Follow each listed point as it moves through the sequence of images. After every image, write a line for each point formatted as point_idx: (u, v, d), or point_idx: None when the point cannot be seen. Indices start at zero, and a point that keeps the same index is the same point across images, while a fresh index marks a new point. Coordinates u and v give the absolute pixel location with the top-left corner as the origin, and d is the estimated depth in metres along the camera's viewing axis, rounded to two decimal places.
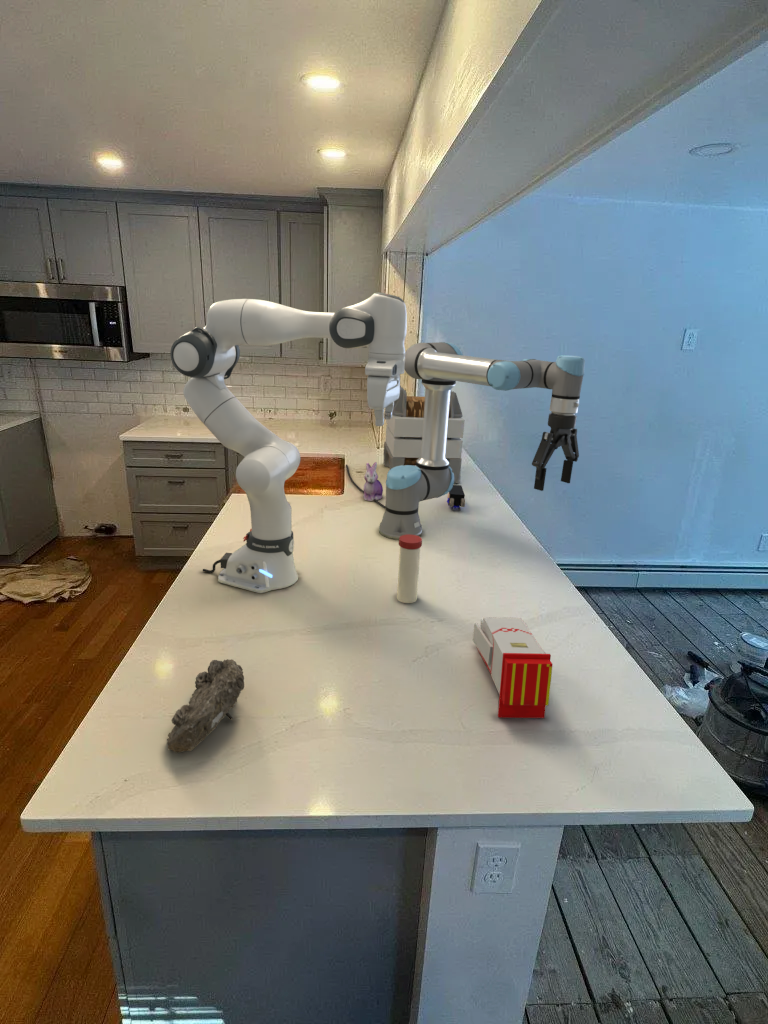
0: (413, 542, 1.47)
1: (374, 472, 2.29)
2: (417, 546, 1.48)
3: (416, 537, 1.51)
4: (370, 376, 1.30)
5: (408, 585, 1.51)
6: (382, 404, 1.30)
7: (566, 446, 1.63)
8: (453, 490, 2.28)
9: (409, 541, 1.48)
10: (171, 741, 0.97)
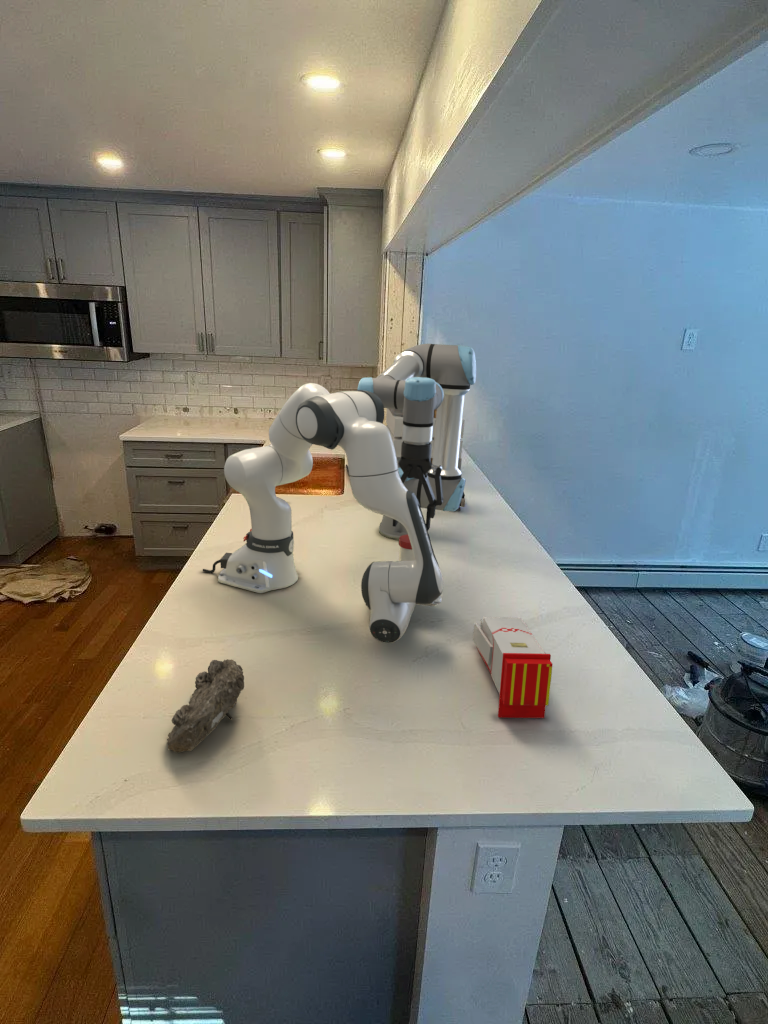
0: None
1: None
2: None
3: None
4: None
5: None
6: None
7: (406, 479, 1.45)
8: None
9: (409, 541, 1.48)
10: (171, 741, 0.97)
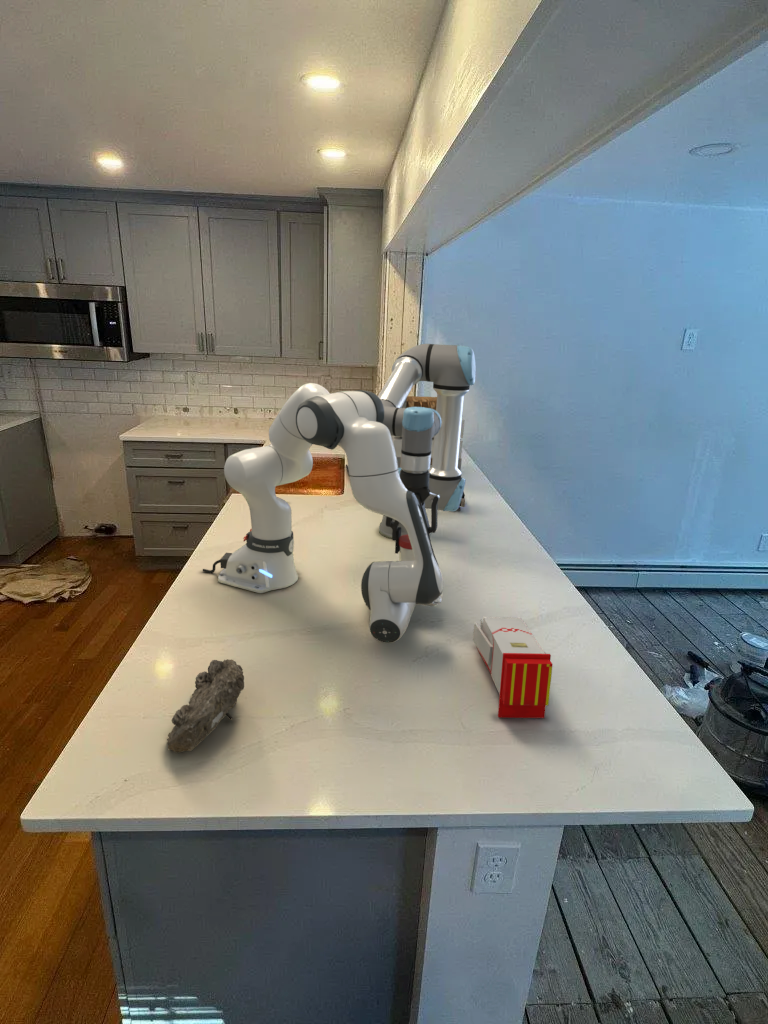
0: None
1: None
2: None
3: None
4: None
5: None
6: None
7: None
8: None
9: (409, 541, 1.48)
10: (171, 741, 0.97)
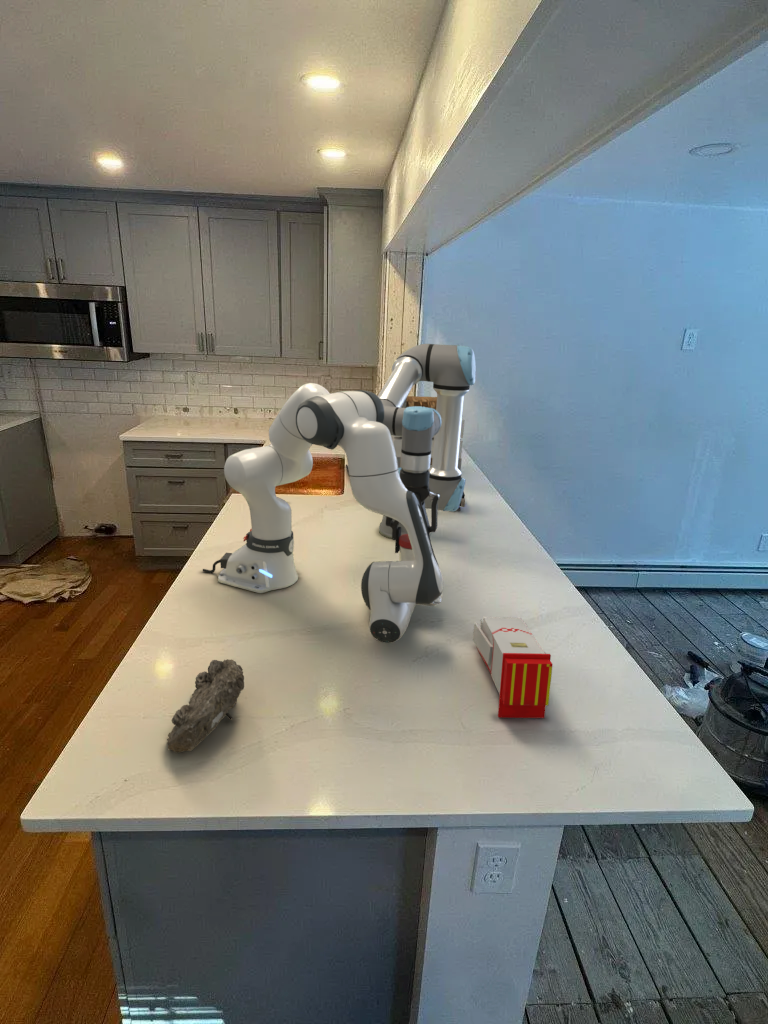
0: None
1: None
2: None
3: (404, 536, 1.51)
4: None
5: None
6: None
7: None
8: None
9: None
10: (171, 741, 0.97)
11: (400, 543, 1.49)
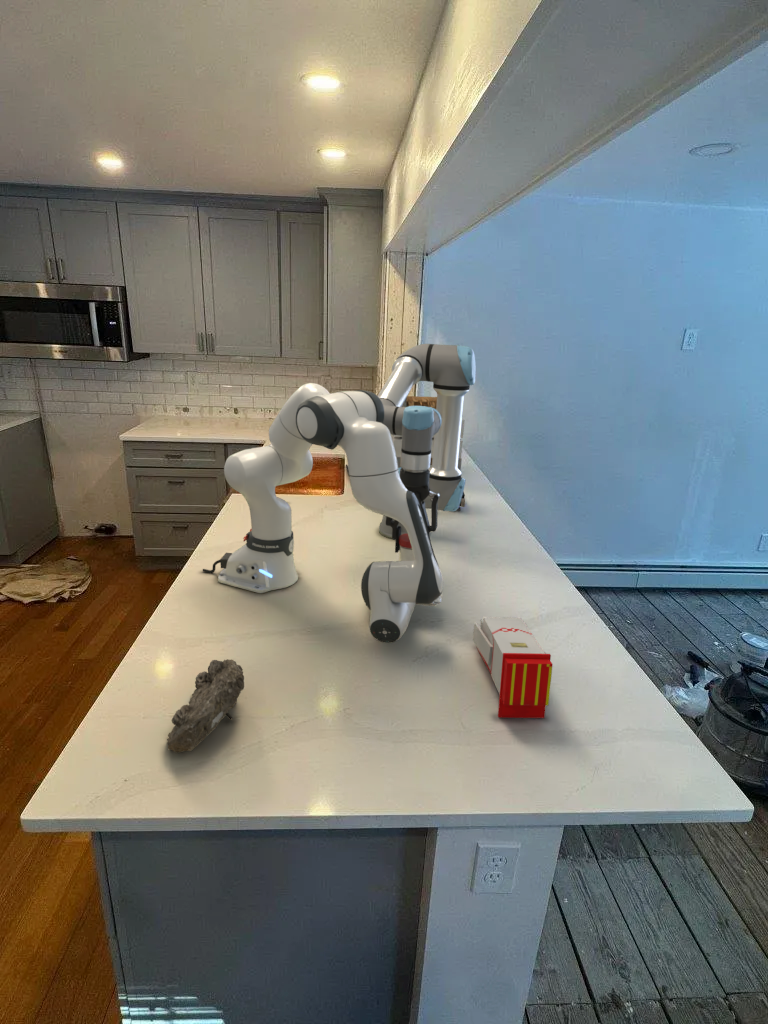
0: (401, 536, 1.50)
1: None
2: (399, 541, 1.50)
3: None
4: None
5: None
6: None
7: None
8: None
9: (404, 535, 1.51)
10: (171, 741, 0.97)
11: None
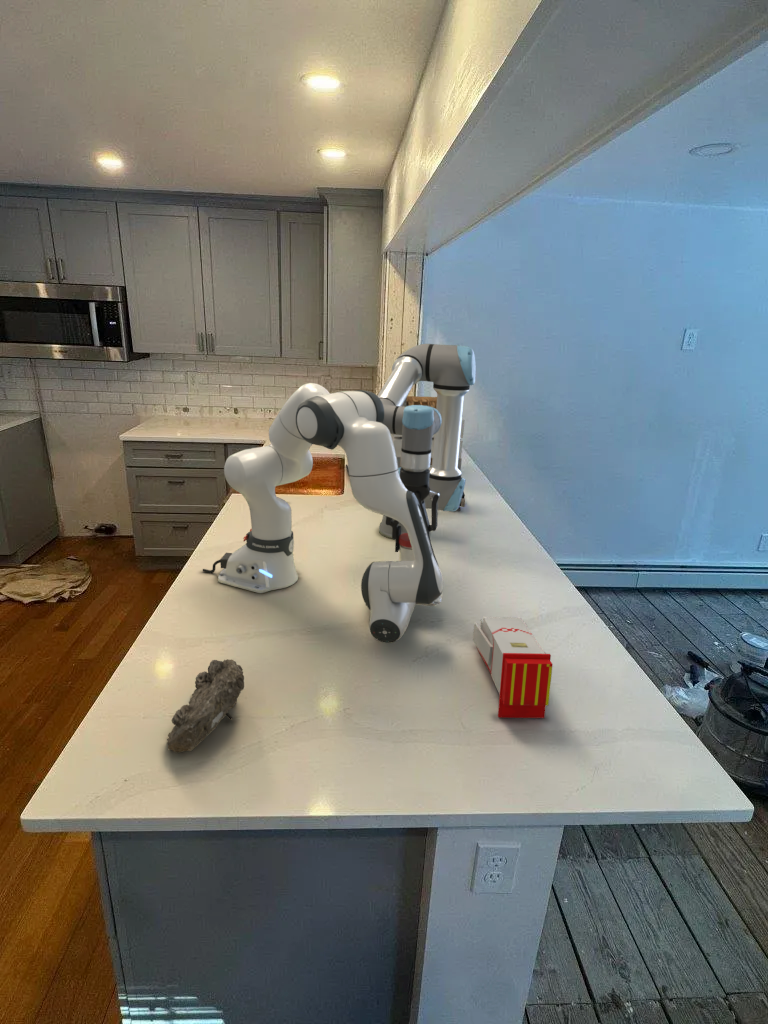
0: None
1: None
2: None
3: None
4: None
5: None
6: None
7: None
8: None
9: (409, 540, 1.47)
10: (171, 741, 0.97)
11: None
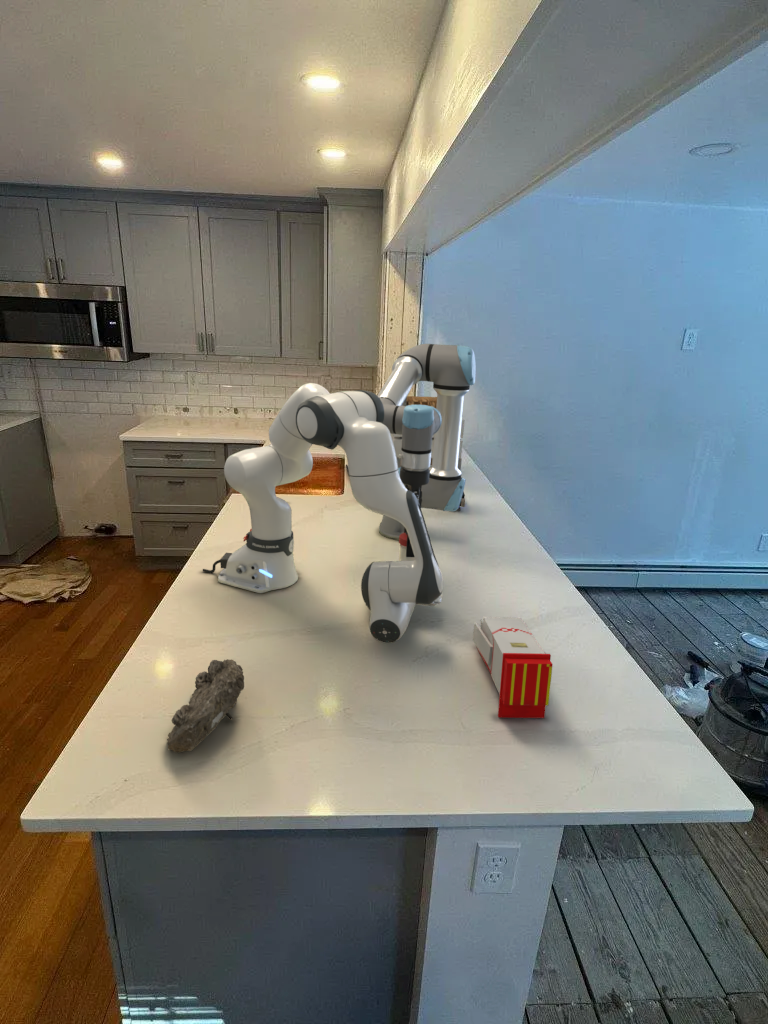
0: None
1: None
2: None
3: (405, 534, 1.51)
4: None
5: None
6: None
7: None
8: None
9: None
10: (171, 741, 0.97)
11: (399, 540, 1.49)
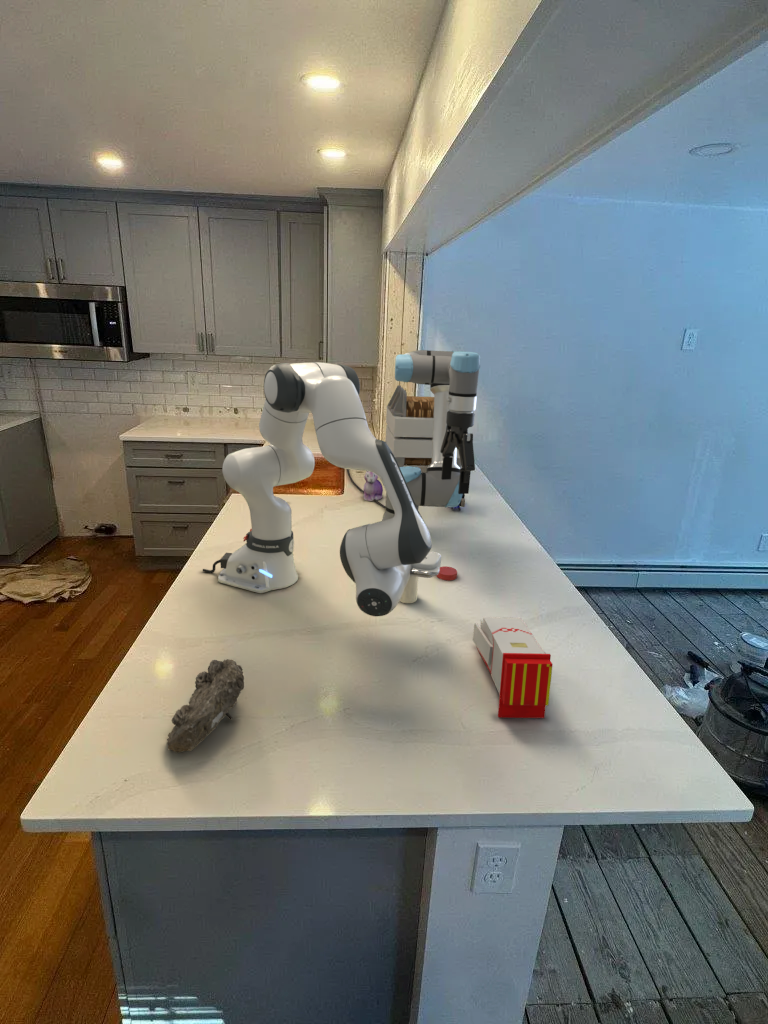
0: (453, 568, 1.71)
1: None
2: None
3: (441, 568, 1.70)
4: None
5: (408, 585, 1.51)
6: None
7: None
8: None
9: (454, 570, 1.70)
10: (171, 741, 0.97)
11: (437, 575, 1.69)
